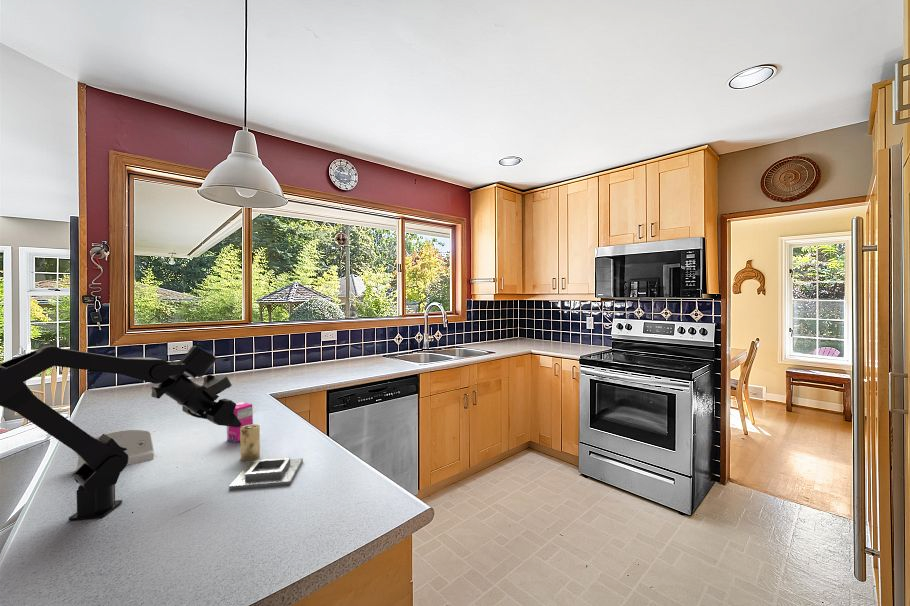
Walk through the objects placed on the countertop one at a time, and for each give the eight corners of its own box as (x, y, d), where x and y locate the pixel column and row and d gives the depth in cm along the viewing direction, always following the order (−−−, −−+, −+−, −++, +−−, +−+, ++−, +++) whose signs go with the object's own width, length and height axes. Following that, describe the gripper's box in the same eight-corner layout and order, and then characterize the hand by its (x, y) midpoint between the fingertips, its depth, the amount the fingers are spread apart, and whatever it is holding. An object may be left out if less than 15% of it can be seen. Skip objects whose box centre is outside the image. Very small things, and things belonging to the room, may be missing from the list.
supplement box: (226, 440, 127) (225, 405, 127) (243, 434, 132) (242, 401, 132) (236, 443, 124) (236, 408, 124) (254, 437, 129) (253, 403, 129)
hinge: (75, 476, 102) (76, 437, 104) (77, 476, 105) (78, 438, 108) (155, 458, 113) (154, 424, 115) (154, 459, 116) (153, 425, 119)
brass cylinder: (256, 460, 111) (256, 429, 111) (237, 461, 110) (237, 430, 110) (262, 453, 116) (261, 423, 116) (244, 454, 115) (244, 424, 115)
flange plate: (289, 485, 96) (289, 475, 96) (229, 490, 93) (228, 480, 93) (302, 461, 109) (302, 453, 109) (250, 465, 107) (250, 456, 107)
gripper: (227, 370, 99) (269, 402, 108) (194, 364, 109) (234, 394, 118) (193, 408, 92) (241, 439, 101) (161, 397, 102) (207, 427, 112)
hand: (231, 423), depth 108 cm, fingers open, 9 cm apart
